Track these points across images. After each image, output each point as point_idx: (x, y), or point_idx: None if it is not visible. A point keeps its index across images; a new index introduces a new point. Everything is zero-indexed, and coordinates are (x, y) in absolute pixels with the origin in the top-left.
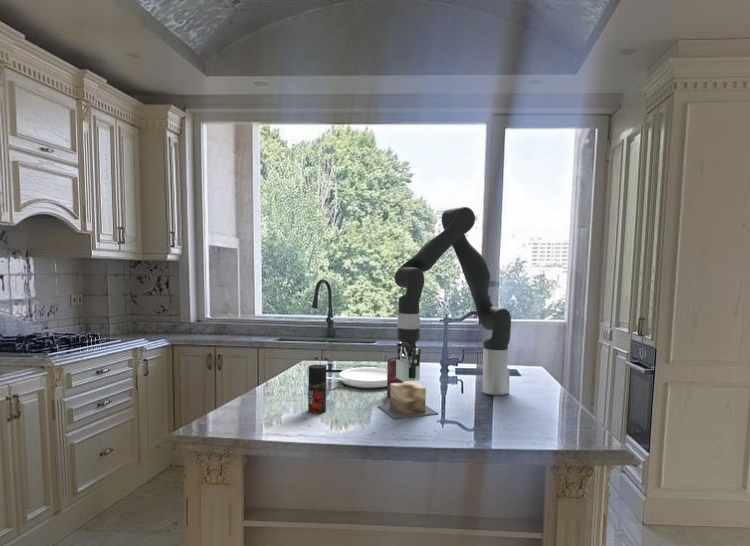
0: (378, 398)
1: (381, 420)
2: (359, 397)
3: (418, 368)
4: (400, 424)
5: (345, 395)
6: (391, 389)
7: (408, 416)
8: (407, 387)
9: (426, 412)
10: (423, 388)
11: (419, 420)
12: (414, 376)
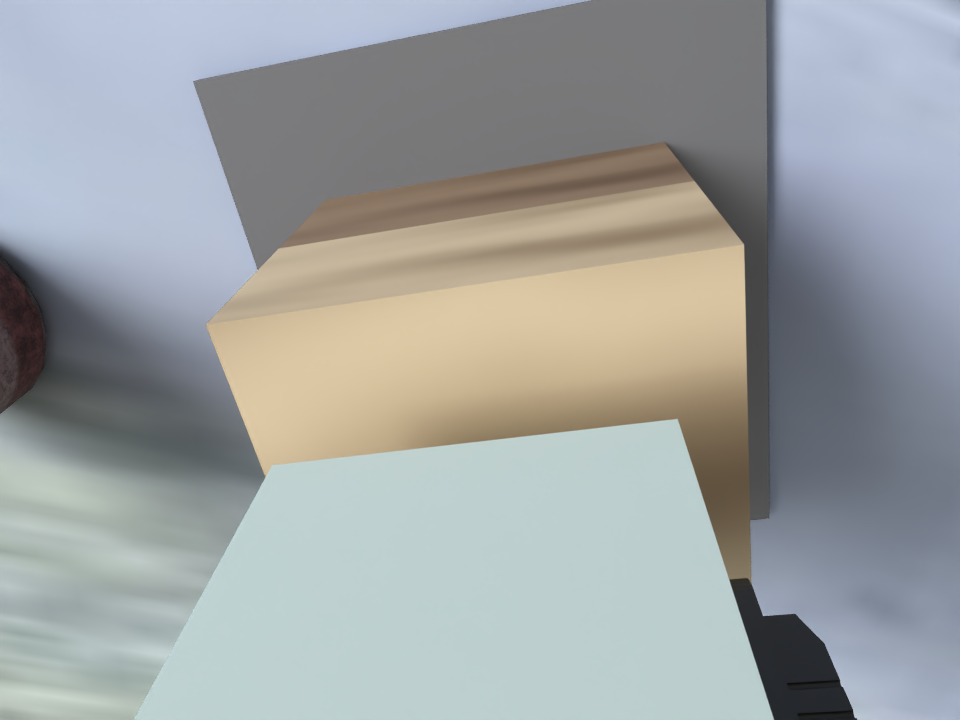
0: (66, 486)
1: (758, 600)
2: (57, 620)
3: (758, 695)
4: (932, 490)
5: (12, 696)
6: None
7: (766, 379)
8: None
9: (691, 134)
10: (742, 289)
11: (897, 288)
12: (808, 641)
